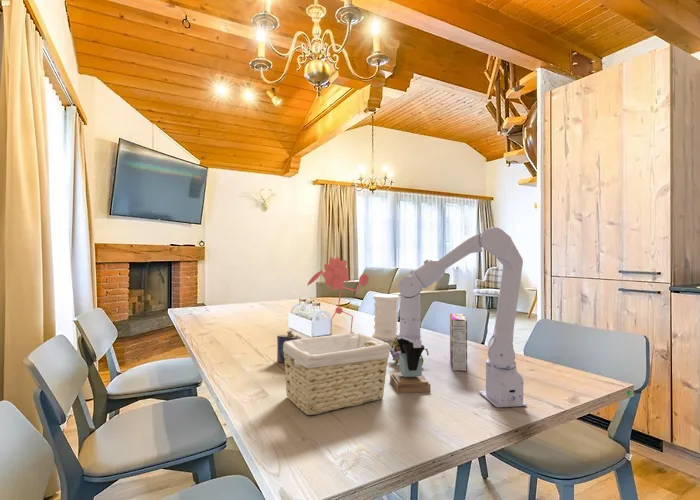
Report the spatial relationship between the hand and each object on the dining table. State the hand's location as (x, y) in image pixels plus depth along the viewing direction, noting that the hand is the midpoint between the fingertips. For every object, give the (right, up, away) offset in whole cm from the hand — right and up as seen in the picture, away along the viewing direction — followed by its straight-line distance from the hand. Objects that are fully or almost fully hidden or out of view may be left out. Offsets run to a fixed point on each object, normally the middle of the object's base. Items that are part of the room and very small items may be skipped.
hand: (409, 366), depth 106 cm
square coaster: (0, -5, 0) cm, 5 cm away
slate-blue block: (0, -2, 0) cm, 2 cm away
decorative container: (-1, -5, +57) cm, 58 cm away
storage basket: (-20, -6, -9) cm, 23 cm away
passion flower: (+2, -6, +21) cm, 21 cm away
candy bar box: (+19, -6, +19) cm, 27 cm away
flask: (-37, -5, +21) cm, 43 cm away
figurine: (-22, -5, +41) cm, 47 cm away
